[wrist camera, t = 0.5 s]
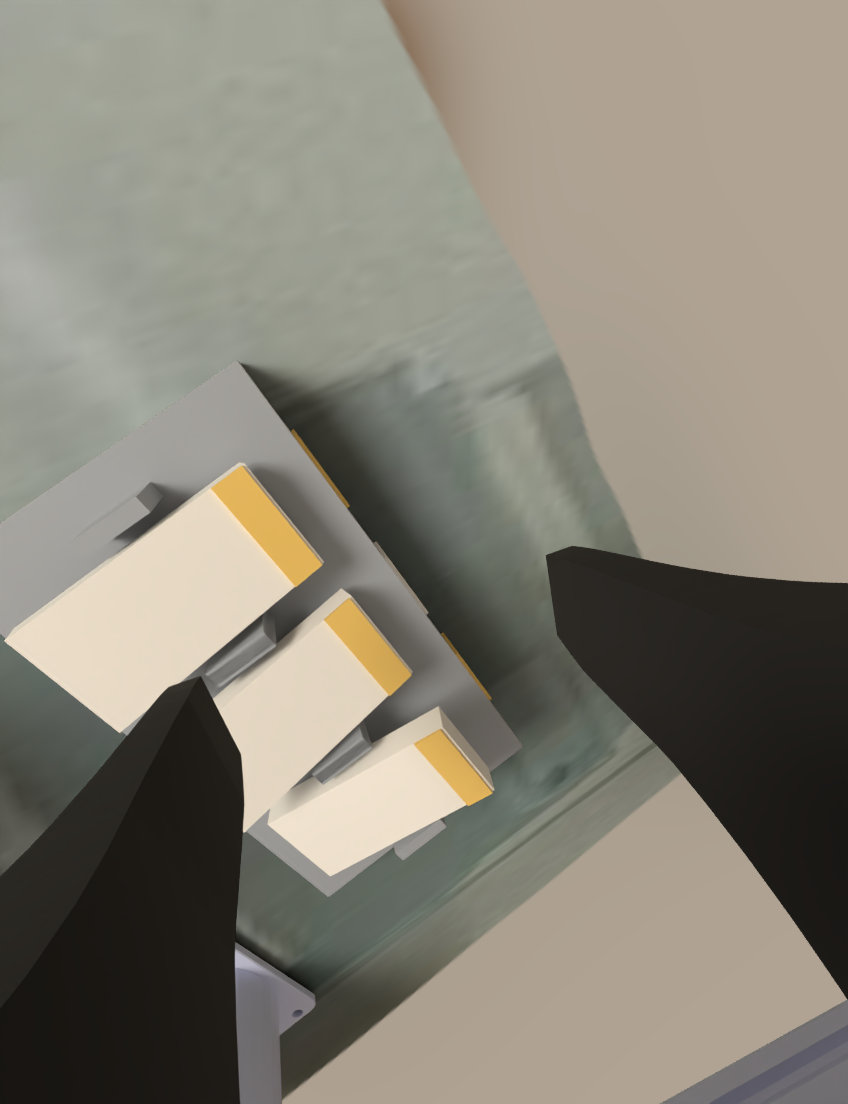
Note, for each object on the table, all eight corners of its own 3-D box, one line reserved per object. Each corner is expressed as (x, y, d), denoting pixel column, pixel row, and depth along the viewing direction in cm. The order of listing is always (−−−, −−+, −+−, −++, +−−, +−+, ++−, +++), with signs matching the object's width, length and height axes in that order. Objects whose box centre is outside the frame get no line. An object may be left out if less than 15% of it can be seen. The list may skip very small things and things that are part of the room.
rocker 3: (331, 851, 20) (330, 878, 19) (271, 799, 19) (267, 826, 18) (488, 767, 19) (495, 792, 18) (438, 706, 18) (443, 729, 17)
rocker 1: (121, 716, 15) (119, 734, 14) (13, 628, 13) (3, 642, 12) (315, 556, 17) (324, 562, 16) (238, 462, 15) (244, 463, 14)
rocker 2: (239, 812, 17) (244, 834, 16) (158, 745, 15) (158, 765, 14) (400, 661, 19) (414, 672, 18) (341, 588, 17) (352, 596, 16)
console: (320, 838, 24) (335, 945, 20) (-21, 542, 17) (-124, 603, 12) (496, 704, 25) (549, 777, 20) (242, 360, 17) (237, 354, 13)
